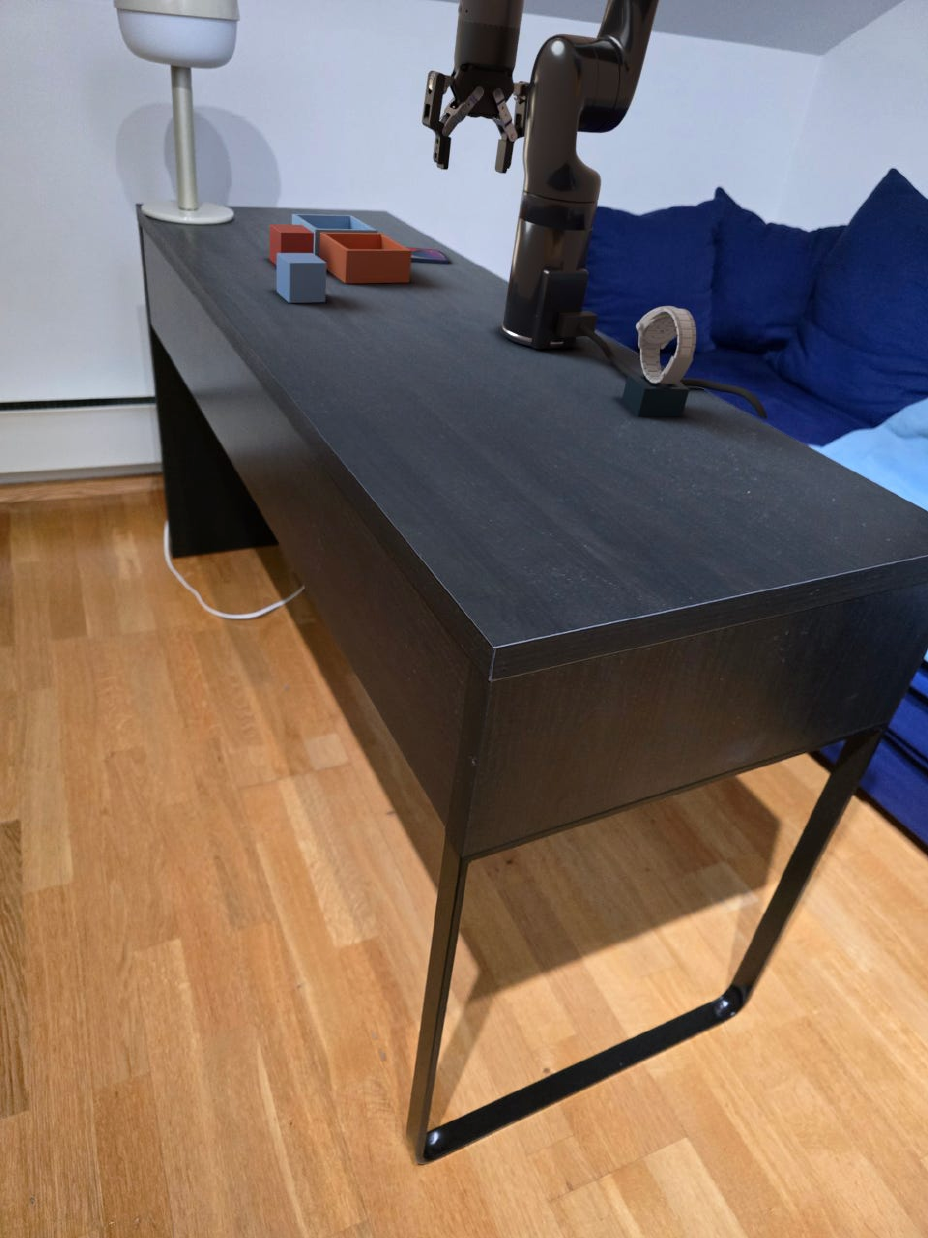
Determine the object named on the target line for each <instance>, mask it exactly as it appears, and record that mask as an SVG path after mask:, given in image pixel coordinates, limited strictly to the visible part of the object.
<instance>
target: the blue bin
mask: <svg viewBox="0 0 928 1238" xmlns="http://www.w3.org/2000/svg"><path fill="white" fill-rule="evenodd" d="M291 225H303V226H304V227H306V228H307V229H309V230H310V231H312V232H313V233H314V255H316V256H317V257H319V255H320V233H378V230H377V229H376V228H374V227H372V226H371V225H369V224H368V223H365V222H364V221H362V220H360V219H358V218H357V217H356V216H353V215H352V214H320V213H319V214H314V213H312V214H311V213H291Z"/></svg>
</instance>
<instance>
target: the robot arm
mask: <svg viewBox="0 0 928 1238" xmlns="http://www.w3.org/2000/svg"><path fill="white" fill-rule="evenodd" d="M659 3H660V0H607V1H606V5H605V8H604V9H605V10H604V14H603V16H602V20H601V24H600V26H599V30H598V32H597V35H596V37H592V36H585V35H577V34H569V33H557V34H554V35H551V36H550V37H547V39H546V40H545V41H544V42H543V43H542V45H541V46H540V48H539V50H538V52H537V54H536V57H535V59H534V62H533V66H532V70H531V73H530V80H529V82H528V81H523V80H520V81H519V82H514V77H513V76H514V75H513V74H514V71H515V69H516V64H517V56H518V49H519V43H520V37H521V28H522V21H523V13H524V6H525V0H459V5H458V8H457V13H458V17H457V18H458V19H457V26H456V37H455V46H454V53H453V54H454V55H453V61H454V63H453V65H454V66H453V70H452V72H451V74H450V75H448V74H444V73H442V72H439V71H436V70H430V71H429V72H428V74H427V79H426V86H425V87H426V88H425V94H424V101H423V109H422V116H421V124H422V125H423V127H426V128H428V129H429V130H431V131H432V132H433V133H434V145H433V155H432V157H433V158H432V159H433V162H434V163H435V165H436V168H438V169H440V170H444V171H448V169H449V165H450V155H451V147H452V137H451V136H450V135H451V134H452V133H453V131H454V130H455V129H456V127H458V125H459V124H460V123H462V122H463V121H464V120H465V119H466V117H470V118H474V119H477V118H481V117H482V118H484V119H487V120H492V122H493V123H494V124H495V126H496V128H497V131H498V133H499V136H500V138H499V139H498V140H497V148H496V155H495V161H494V171H495V172H496V173H498V174H503V175H506V174H507V173H508V170H509V169H511V166H512V162H513V161H512V160H513V153H514V148H515V143H516V142H517V140H519V139H521V138H523V144H522V145H523V146H522V166H523V167H522V168H523V183H522V190H521V197H520V202H519V203H520V204H519V209H518V210H519V211H518V217H517V218H518V219H517V223H516V231H515V238H514V245H513V249H512V250H513V251H512V257H511V265H510V271H509V279H508V285H507V291H506V297H505V298H506V300H505V308H504V315H503V320H502V323H501V328H500V333H501V334H502V336H503V337H504V338H506V339H508V340H509V341H511V342H513V343H517V344H518V345H519V344H520V345H523V346H528V347H530V348H532V349H534V350H553V349H569V348H575V347H576V341H577V338H581V337H587V338H589V340H591V341H593V342H594V343H595V344H596V345H597V346H598V347H599V348H600V349H601V351H602V352H603V353H604V355H605V357H606V358H607V359H608V360H609V361H610V363H611V364H612V365H613V366H614V367H615V368H616V369H617V370H618V371H619V372H620V373H621V374H622V375H623V376H624V377H625V378H627V376H628V374H640V372H636V371H634V370H631V369H630V368H628V367H627V366H626V365H625V364H624V363H623V362H622V360H620V359H619V358H618V357H617V356H616V355H615V353H614V352H613V351H612V349H611V347H610V346H609V345H608V343H607V342H606V341H605V340H604V339H603V338H602V337H601V336H600V335H598V334H597V333H596V332H595V331H596V327H597V322H598V317H599V315H598V314H597V313H594V312H592V311H590V310H583V305H584V302H585V296H586V291H587V285H588V281H589V271H588V269H586V266H587V261H588V256H589V251H590V245H591V240H592V235H593V234H592V233H593V231H594V230H593V229H594V226H595V225H594V224H595V219H596V214H597V210H598V204H599V200H600V193H601V189H602V177H601V174H600V173H599V172H598V171H597V170H595V169H594V168H592V167H590V166H588V165H587V164H586V163H584V162H583V161H582V160H581V158H580V156H579V155H578V152H577V151H578V150H577V146H578V145H577V144H578V133H588V134H604V133H609V132H611V131H613V130H615V129H616V128H617V127H619V125H620V124H621V123H622V121H623V120H624V118H625V117H626V116H627V114H628V112H629V109H630V107H631V105H632V103H633V100H634V98H635V95H636V91H637V89H638V85H639V81H640V78H641V74H642V70H643V66H644V62H645V58H646V54H647V51H648V47H649V42H650V39H651V34H652V30H653V27H654V23H655V19H656V14H657V11H658V8H659V5H660V4H659ZM448 89H450V91H451V93H452V95H453V97H452V98H451V100H449V103H448V104H447V105H446V106H445V108H444V110H443V113H442V115H441V111H442V105H443V98H444V95H446V93H447V91H448ZM512 96H513V101H514V102H515V103H514V104H515V106H514V116H513V117H512V114H511V112H510V110H509V107H508V104H507V103H508V101H509V100H510V98H511V97H512ZM680 382H681V383H682V384H684V385H685V386H686V387H697V388H701V389H707V390H711V391H716V392H723V393H727V394H732V395H736V396H739V397H741V398H743V399H745V400H746V401H747V402H748V403H749V404H750V405H751V406H752V407H753V409H754V411H755V412H756V414H757V416H758V417H759V418H761V419H768V415H767V412H766V410H765V408H764V405H763V404H762V403H761V401H760V400H759V399H758V398H757V396H756V395H755V394H754V393H753V392H751V391H749V390H748V389H746V388H743V387H741V386H737V385H732V384H726V383H721V382H716V381H711V380H706V379H701V378H694V377H693V378H692V377H682V379H681V380H680Z"/></svg>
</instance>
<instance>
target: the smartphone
mask: <svg viewBox="0 0 928 1238" xmlns="http://www.w3.org/2000/svg"><path fill="white" fill-rule="evenodd" d="M405 247H406V248H408V249H410V250H411V251H412V253H411V263H425V264H440V265H443V264H444V265H446V264H449V259H448V258H447V256H445V255H444V254H443V253H442V252H441V251H440V250H438V249H433V248H419V247H410V246H409V247H408V246H405Z"/></svg>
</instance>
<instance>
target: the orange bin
mask: <svg viewBox="0 0 928 1238" xmlns="http://www.w3.org/2000/svg"><path fill="white" fill-rule="evenodd" d="M406 247H407V246H404V245H403V244H401V243H399V242H398V241H396V240H394V239H392V238H391V237H389V236H388V235H386V234H384V233H383V232H381V233H379V232H377V233H320V255H319V258H320V259H321V260H323V261H324V262H325V263H326V271H328V272H329V273H330V274H332V275H333V276H335V278H337V279H339V280H340V281H341V282H343V283H344V284H384V283H385V284H386V283H387V284H392V283H393V284H395V283H396V284H398V283H399V284H400V283H410V275H411V265H412V262H411V253H412V251H411V250H410V249H408V248H406Z"/></svg>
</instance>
